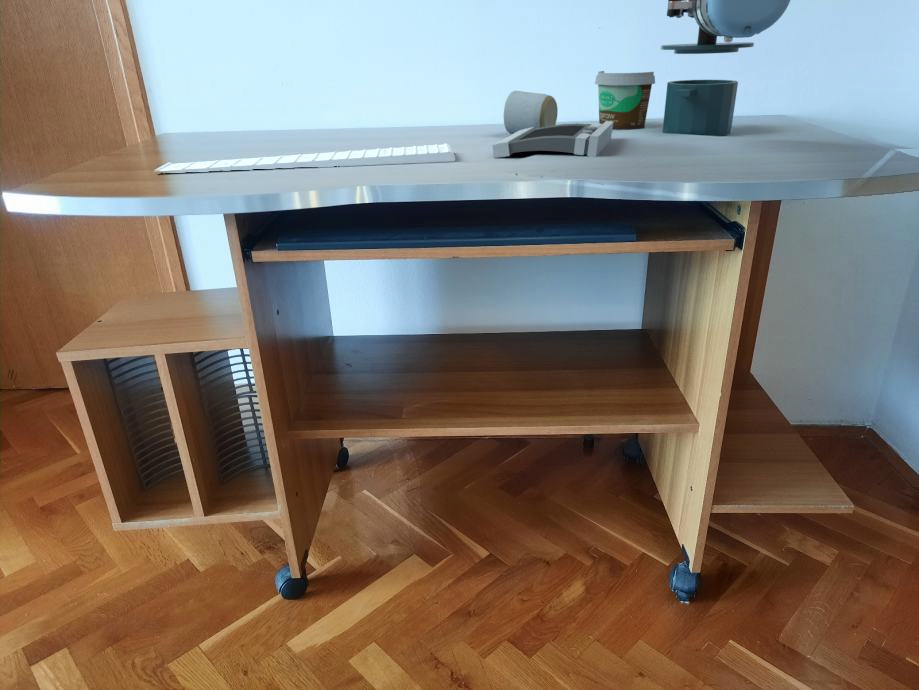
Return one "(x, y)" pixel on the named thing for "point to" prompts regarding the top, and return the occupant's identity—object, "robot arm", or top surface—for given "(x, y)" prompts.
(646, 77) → the food container
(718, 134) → the pot
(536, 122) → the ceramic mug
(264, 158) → the keyboard
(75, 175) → the top surface
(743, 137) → the top surface
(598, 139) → the grey curved frame
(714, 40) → the lid
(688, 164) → the top surface
